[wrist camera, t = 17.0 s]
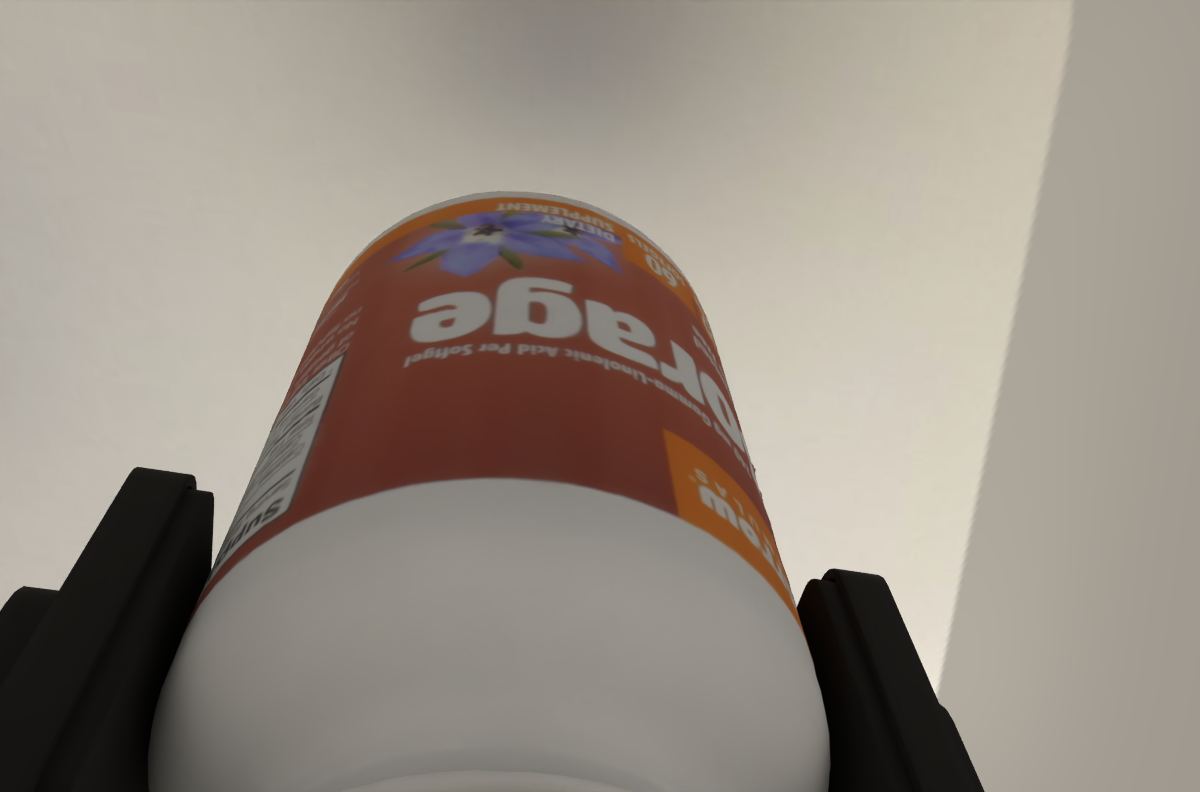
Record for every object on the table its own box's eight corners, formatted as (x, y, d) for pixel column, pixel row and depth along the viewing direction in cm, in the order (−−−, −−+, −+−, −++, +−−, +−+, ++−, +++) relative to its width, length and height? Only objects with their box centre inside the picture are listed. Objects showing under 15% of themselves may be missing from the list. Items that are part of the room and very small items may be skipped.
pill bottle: (789, 299, 16) (1170, 1068, 6) (586, 570, 18) (641, 1411, 9) (424, 95, 14) (187, 753, 4) (255, 428, 17) (-128, 1302, 7)
